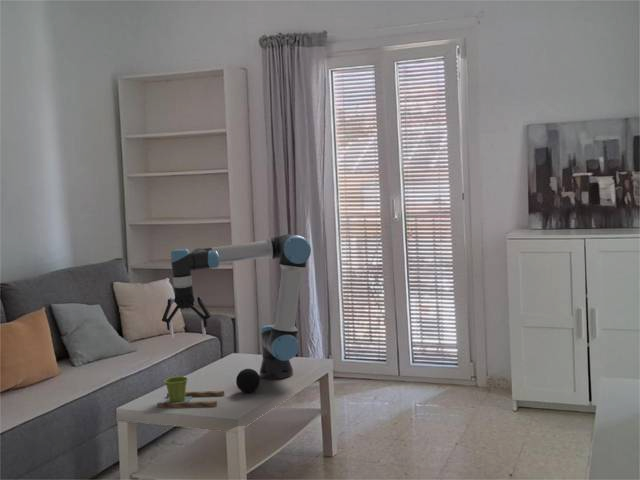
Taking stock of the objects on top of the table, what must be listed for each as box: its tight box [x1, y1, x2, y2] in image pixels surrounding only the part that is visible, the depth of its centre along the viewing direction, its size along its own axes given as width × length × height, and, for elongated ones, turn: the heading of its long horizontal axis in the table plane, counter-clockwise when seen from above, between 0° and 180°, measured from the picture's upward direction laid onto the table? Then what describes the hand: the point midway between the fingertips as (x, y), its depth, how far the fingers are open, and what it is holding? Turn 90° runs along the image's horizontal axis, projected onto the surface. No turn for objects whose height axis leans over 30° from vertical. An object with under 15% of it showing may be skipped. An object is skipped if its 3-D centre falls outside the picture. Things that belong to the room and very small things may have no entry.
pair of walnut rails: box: [156, 390, 225, 409], centre depth 301 cm, size 24×16×2 cm, turn 85°
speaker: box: [235, 368, 261, 394], centre depth 309 cm, size 10×10×10 cm
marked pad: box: [163, 396, 193, 403], centre depth 302 cm, size 10×10×1 cm
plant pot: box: [164, 376, 189, 402], centre depth 301 cm, size 9×9×9 cm
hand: (188, 336), depth 307 cm, fingers open, 13 cm apart
